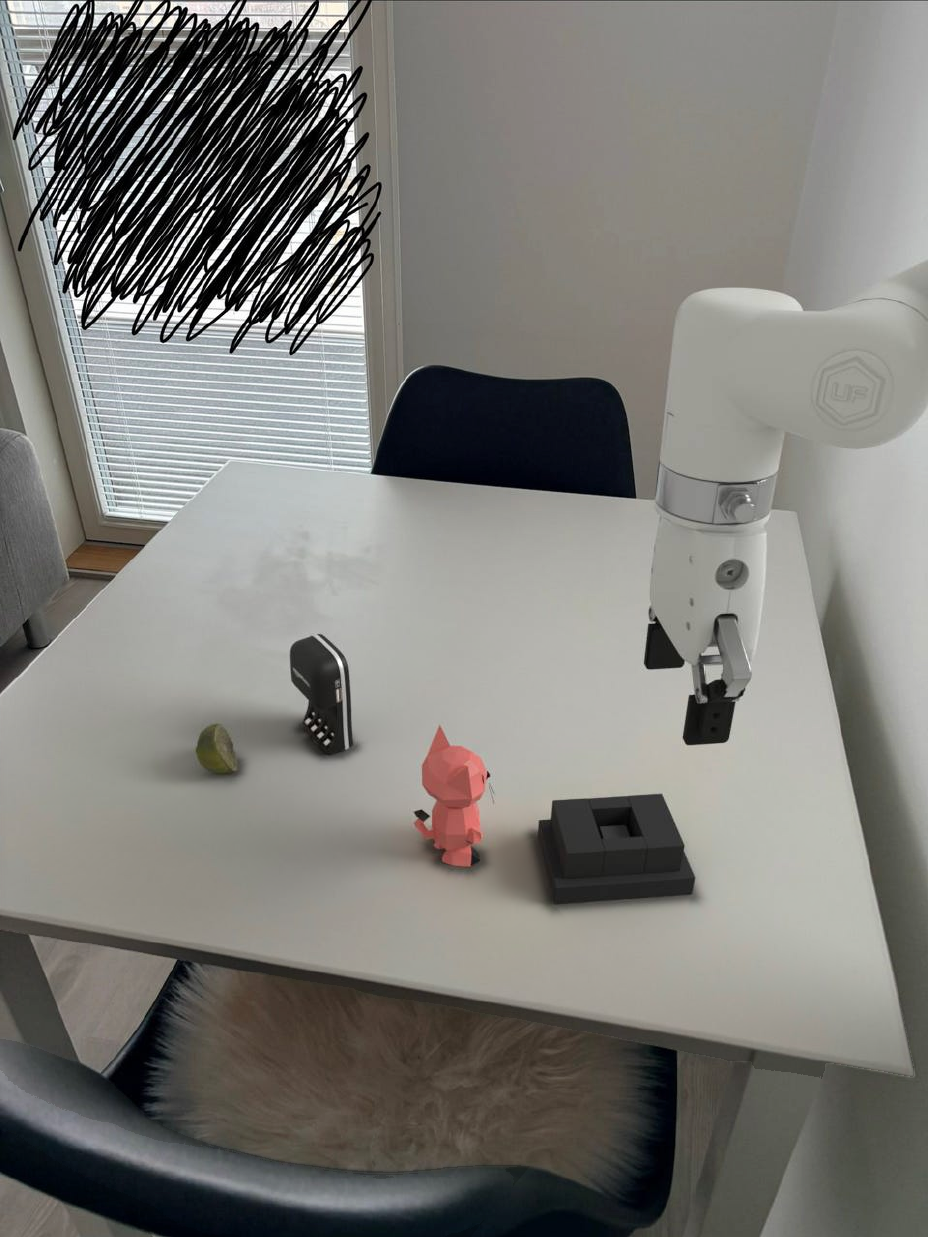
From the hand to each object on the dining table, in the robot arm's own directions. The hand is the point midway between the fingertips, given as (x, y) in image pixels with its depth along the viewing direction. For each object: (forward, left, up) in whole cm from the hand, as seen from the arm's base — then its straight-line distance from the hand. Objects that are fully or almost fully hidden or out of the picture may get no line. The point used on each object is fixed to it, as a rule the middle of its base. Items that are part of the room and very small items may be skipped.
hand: (682, 702), depth 66 cm
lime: (+39, -18, -19) cm, 47 cm away
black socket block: (+3, -2, -17) cm, 18 cm away
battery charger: (+29, -22, -19) cm, 41 cm away
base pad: (+3, -2, -19) cm, 20 cm away
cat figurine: (+17, -5, -19) cm, 26 cm away
